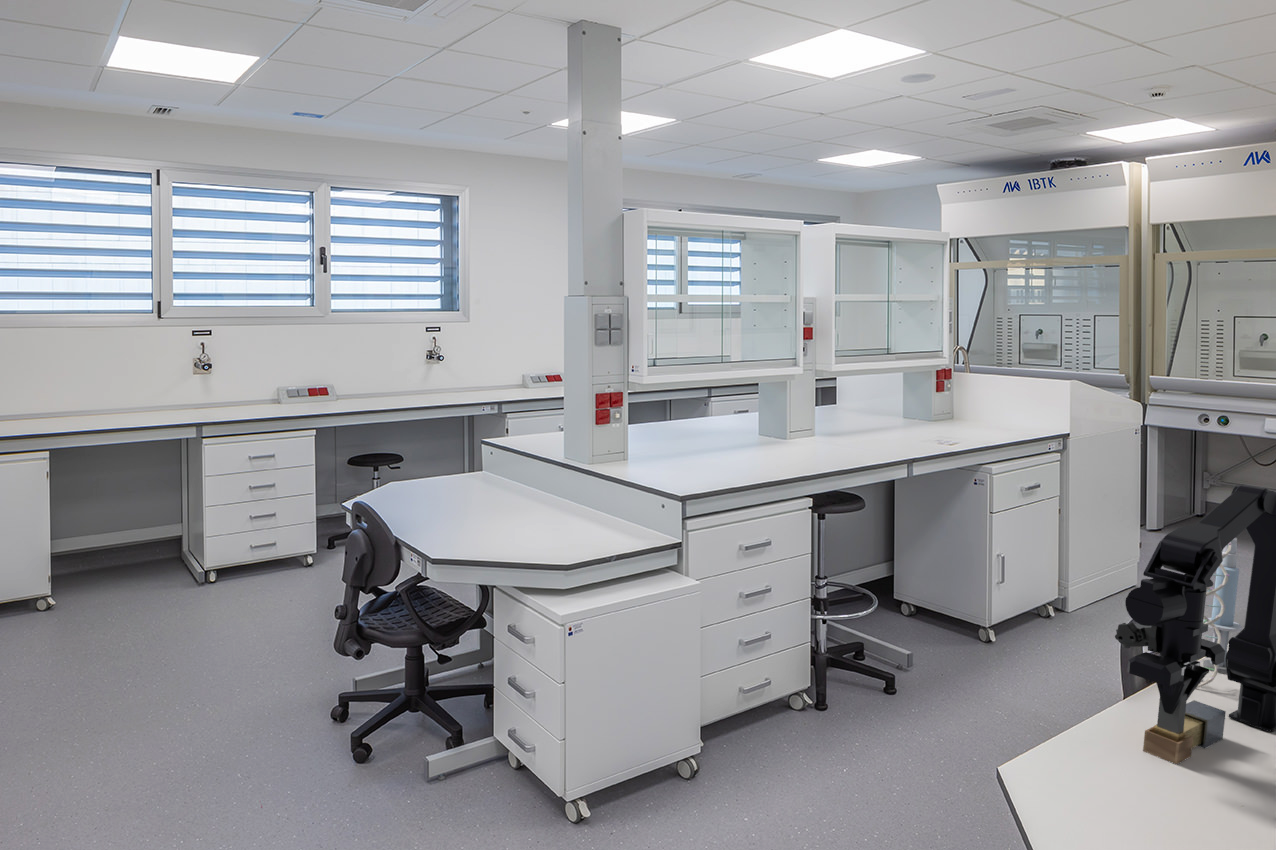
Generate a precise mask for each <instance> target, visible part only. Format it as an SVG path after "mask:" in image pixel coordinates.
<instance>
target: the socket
mask: <svg viewBox="0 0 1276 850" xmlns="http://www.w3.org/2000/svg"><path fill="white" fill-rule="evenodd" d="M1192 741H1193V736H1189V737H1187V738H1185V739H1183V740H1182V741H1180V742H1176V741H1173V740H1171V739H1168V738H1165V737H1163V736H1160V735H1158V734H1155V733H1154V726H1151V727H1150V728H1148V729H1145V730H1144V738H1143V747H1142V751H1143V752H1145V753H1147V752H1148V753H1147V754H1149V753H1150V755H1152V756H1155V757H1157V756H1158V757H1157V758H1159V757H1160V759H1161V760H1164V761H1166V760H1167V762H1169V761H1170V762H1169V763H1171V762H1173V763H1172V764H1174V763H1175V765H1176V764H1177V765H1179V764H1180V762H1181V763H1182V762H1184V761H1186V760H1187V758H1188V759H1189V757H1190V758H1191V756H1192V749H1193V748H1192ZM1185 759H1186V760H1185ZM1178 763H1179V764H1178Z"/></svg>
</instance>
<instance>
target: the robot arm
mask: <svg viewBox="0 0 1276 850" xmlns="http://www.w3.org/2000/svg"><path fill="white" fill-rule="evenodd" d="M1245 530H1246V532H1247V534H1248V535H1249V537H1250V540H1251V541H1252V543H1253V545H1254V549H1253V557H1252V565H1251V571H1250V572H1251V574H1250V581H1249V589H1248V596H1247V597H1248V598H1247V602H1246V603H1247V605H1246V611H1245V612H1246V613H1245V619H1244V620H1245V621H1244V626H1243V628H1242V630H1241V631H1239V632H1238V633H1237V634H1236V635H1235V636H1232V637H1231V638H1229V639H1228V647H1227V654H1226V668H1227V673H1226V675H1227V680H1228V681H1231V682H1236V683H1238V684H1239V685H1240V686H1239V694H1238V695H1239V696H1238V705H1237V709H1236V710H1234V711H1233V712H1231V713H1229V714H1228V718H1230V719H1233V720H1236V721H1238V722H1241V723H1244V724H1246V725H1250V726H1253V727H1255V728H1258V729H1260V730H1262V731H1263V730H1264V731H1267V732H1269V733H1270V732H1274V731H1276V492H1275V491H1274V490H1271V489H1270V488H1268V487H1261V486H1256V485H1250V484H1249V485H1248V484H1241V485H1239V484H1238V485H1235V486H1234V488H1233V489H1232V491H1231V494H1230V495H1229V496H1228V497H1226V498H1225V499H1224V500H1223V501H1222V502H1220V503H1219V505H1217V506H1216V507H1215V508H1214V509H1212V510H1211V511H1210V512H1209V513H1207V514H1206V515H1205V516H1204V517H1203V518H1202V519H1201V520H1200V521H1198V522H1197V523H1196V524H1193V525H1188V526H1183V527H1178V528H1176V529H1174V530H1173V531H1171V532H1169V533H1168V534H1165V536H1164V537H1163V538H1162V539H1161V540H1160V541H1159V542H1158V543H1157V546H1156V548H1155V550H1154V552H1153V553H1152V555H1151V557H1150V559H1149V561H1148V564H1147V566H1146V567H1145V569H1144V571H1143V574H1142V575H1143V576H1144V577H1147V578H1142V579H1141V580H1140V586H1139V587H1136V588H1133V589H1132V590H1131V591H1129V592H1128V594H1127V596H1126V597H1125V609H1126V612H1127V614H1128V615H1129V617H1130V618H1131V619H1132V620H1133V621H1134V622H1135V623H1134V622H1129V623H1126V622H1122V623H1119V624H1118V626H1117V629H1115V632H1116V634H1115V636H1114V638H1115V640H1117V641H1118V643H1119V644H1120V645H1121V646H1122V648H1123V649H1130V648H1131V647H1133V648H1134V647H1136V648H1137V647H1138V648H1139V647H1140V648H1141V647H1147V651H1149V652H1147V651H1144V652H1142V653H1140V654H1137V655H1135V656H1133V657H1131V658H1129V659H1128V661H1127V670H1126V671H1127V673H1128V674H1130V675H1133V676H1136V677H1139V678H1142V679H1144V680H1148V681H1150V682H1153V683H1156V687H1157V689H1158V692H1159V698H1160V697H1161V701H1162V705H1163V709H1164V712H1166V713H1169V714H1172V713H1173V712H1174V710H1175V709H1176V707H1177V705H1178V703H1179V701H1180V699H1181V698H1182V696H1183V694H1184V693H1185V694H1187V700H1189V698H1190V696H1191V695H1192V694H1193V693H1194V691H1195V690H1196V689H1197V688H1196V687H1197V686H1198V685H1199V684H1201V683H1202V681H1203V680H1204V678H1205V677H1206V675H1208V674H1209V673H1210V670H1209V669H1207V668H1204V667H1203V666H1201V661H1199V660H1200V659H1203V658H1207V659H1210V658H1211V659H1210V660H1211V662H1212V664H1214V665H1218V664H1221V663H1223V662H1224V658H1225V650H1224V649H1223V648H1222V646H1221V645H1220V644H1219V643H1215V642H1212V641H1213V640H1212V641H1211V640H1208V639H1205V638H1203V636H1202V635H1203V634H1204V633H1207V632H1208V631H1209V627H1208V625H1207V624H1204V623H1203V620H1204V616H1205V608H1206V606H1205V605H1206V600H1207V599H1206V598H1207V596H1206V592H1207V591H1208V589H1207V587H1210V588H1212V587H1213V586H1214V582H1213V581H1212V579H1211V578H1212V576H1214V575H1213V574H1215V572H1216V571H1217V568H1218V567H1219V566H1220V564H1221V563H1222V561H1223V557H1222V552H1223V549H1224V548H1225V546H1226V545H1228V544H1229V543H1230V542H1231V541H1232V540H1233V539H1234V538H1238V536H1239V535H1241V533H1243V532H1244V531H1245ZM1162 567H1163V568H1162ZM1151 652H1152V653H1151ZM1154 653H1156V654H1154ZM1157 653H1159V655H1157Z"/></svg>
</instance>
